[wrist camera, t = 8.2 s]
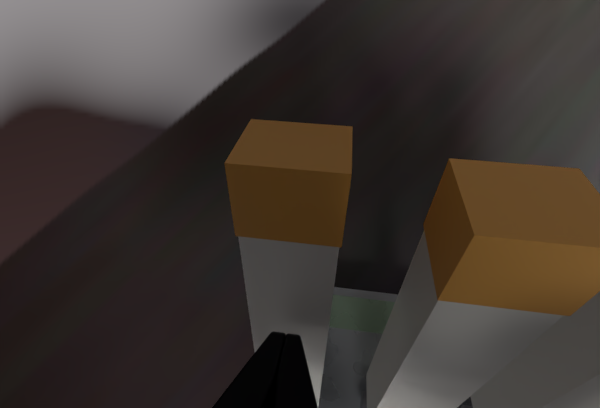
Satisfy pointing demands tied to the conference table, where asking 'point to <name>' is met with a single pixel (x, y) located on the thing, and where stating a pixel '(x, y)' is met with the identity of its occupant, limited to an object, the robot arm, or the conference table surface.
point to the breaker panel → (353, 344)
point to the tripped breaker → (291, 227)
